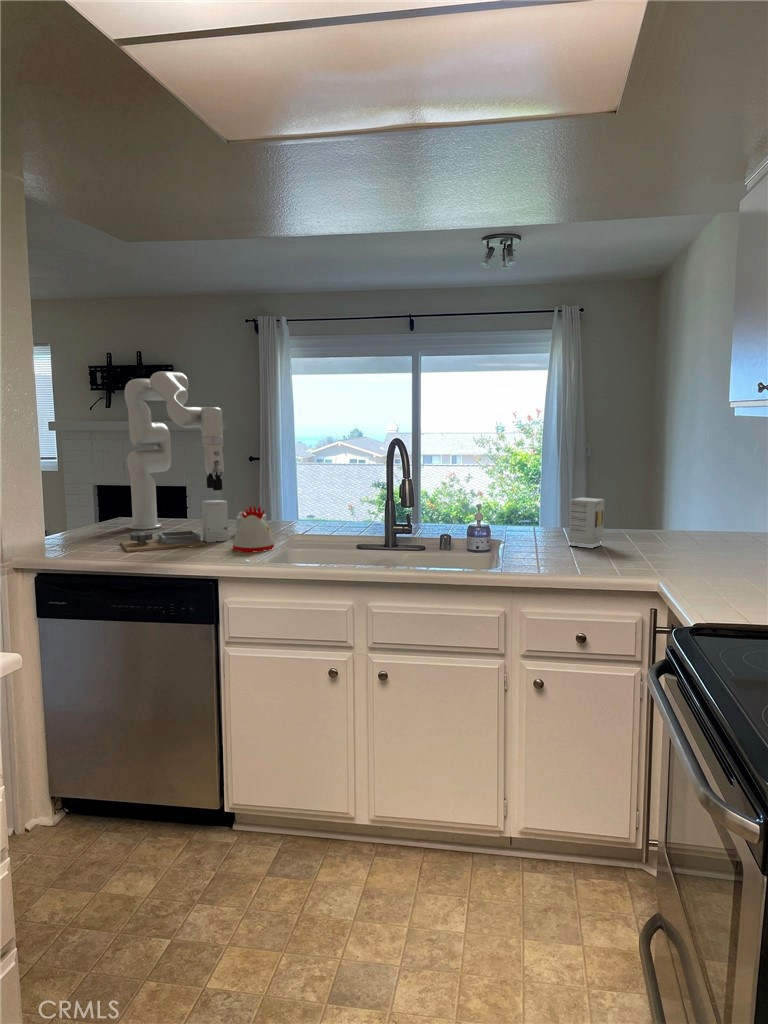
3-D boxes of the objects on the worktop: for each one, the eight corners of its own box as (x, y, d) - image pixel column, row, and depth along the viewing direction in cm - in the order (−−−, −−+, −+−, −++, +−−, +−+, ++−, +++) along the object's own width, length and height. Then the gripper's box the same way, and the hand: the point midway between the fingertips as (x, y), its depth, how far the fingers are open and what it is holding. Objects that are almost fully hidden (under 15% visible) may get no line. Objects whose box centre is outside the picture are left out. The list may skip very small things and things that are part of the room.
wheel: (129, 538, 254) (129, 532, 253) (150, 536, 257) (150, 531, 257) (131, 541, 247) (131, 536, 247) (153, 540, 251) (153, 534, 250)
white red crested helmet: (265, 553, 241) (264, 509, 239) (226, 551, 244) (225, 508, 242) (279, 545, 255) (278, 503, 253) (242, 544, 257) (241, 502, 255)
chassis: (120, 543, 258) (120, 531, 257) (194, 537, 269) (193, 526, 269) (126, 552, 242) (126, 539, 241) (204, 546, 253) (204, 533, 253)
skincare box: (206, 542, 259) (204, 502, 257) (202, 540, 265) (200, 500, 262) (229, 541, 263) (227, 500, 261) (224, 538, 268) (223, 499, 266)
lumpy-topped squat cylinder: (269, 532, 283) (269, 510, 282) (256, 537, 270) (255, 515, 269) (245, 530, 285) (244, 509, 284) (230, 536, 273) (230, 514, 272)
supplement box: (592, 549, 248) (595, 501, 246) (567, 546, 254) (569, 499, 251) (602, 545, 256) (605, 498, 253) (578, 542, 261) (580, 496, 259)
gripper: (228, 442, 253) (230, 490, 255) (217, 440, 268) (219, 486, 270) (207, 442, 249) (209, 491, 252) (197, 441, 265) (199, 487, 267)
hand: (214, 489), depth 261 cm, fingers open, 9 cm apart
